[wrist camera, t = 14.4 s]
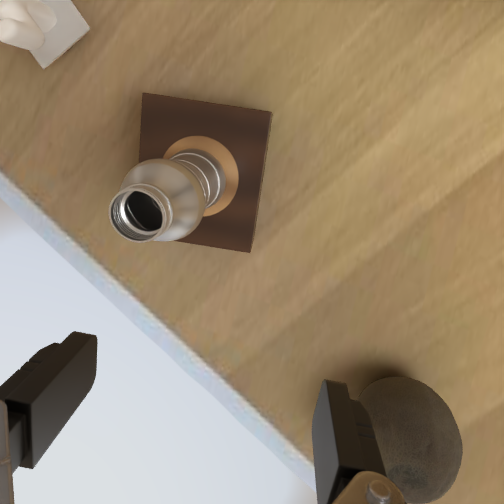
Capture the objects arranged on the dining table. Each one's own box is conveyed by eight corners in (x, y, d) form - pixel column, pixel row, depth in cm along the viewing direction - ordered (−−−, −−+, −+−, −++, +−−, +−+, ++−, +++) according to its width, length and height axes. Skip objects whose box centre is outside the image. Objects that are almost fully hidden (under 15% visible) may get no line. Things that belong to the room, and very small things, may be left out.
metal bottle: (178, 138, 43) (94, 149, 24) (236, 158, 43) (200, 185, 24) (163, 194, 45) (76, 244, 26) (219, 213, 45) (174, 277, 26)
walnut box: (159, 96, 47) (141, 92, 41) (272, 113, 47) (271, 111, 41) (151, 222, 52) (134, 235, 46) (253, 239, 52) (250, 254, 46)
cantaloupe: (365, 341, 55) (394, 415, 41) (453, 378, 56) (511, 464, 42) (321, 414, 60) (333, 504, 46) (403, 447, 61) (440, 546, 46)
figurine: (57, -33, 44) (-50, -109, 30) (110, 44, 46) (33, 7, 32) (13, 9, 46) (-109, -44, 31) (66, 81, 48) (-25, 62, 33)
